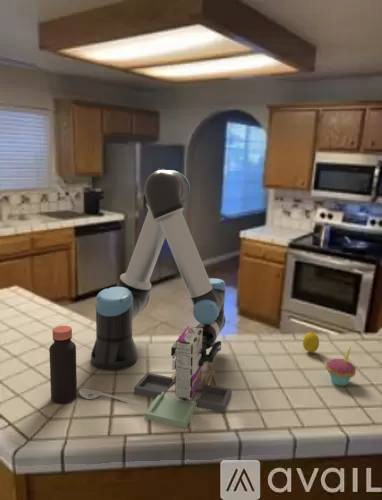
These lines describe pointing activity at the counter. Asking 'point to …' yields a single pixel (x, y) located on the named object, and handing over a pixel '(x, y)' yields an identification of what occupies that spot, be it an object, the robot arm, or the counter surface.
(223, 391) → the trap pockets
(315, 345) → the lemon
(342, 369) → the cupcake
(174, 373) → the lane rails
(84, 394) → the spoon
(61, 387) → the bottle
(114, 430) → the counter surface
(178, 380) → the candy bar box
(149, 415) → the green square tray
